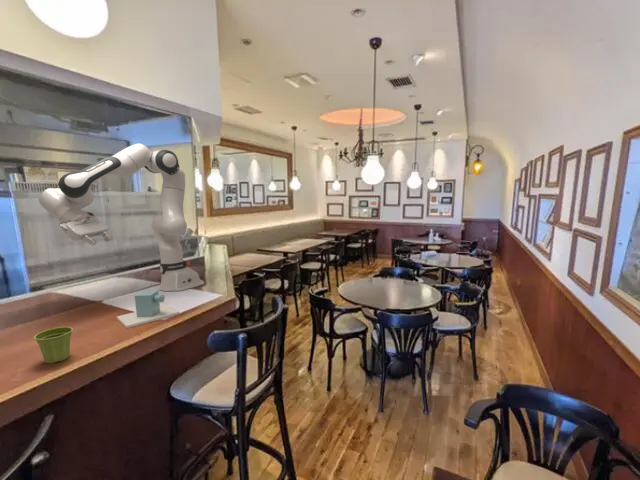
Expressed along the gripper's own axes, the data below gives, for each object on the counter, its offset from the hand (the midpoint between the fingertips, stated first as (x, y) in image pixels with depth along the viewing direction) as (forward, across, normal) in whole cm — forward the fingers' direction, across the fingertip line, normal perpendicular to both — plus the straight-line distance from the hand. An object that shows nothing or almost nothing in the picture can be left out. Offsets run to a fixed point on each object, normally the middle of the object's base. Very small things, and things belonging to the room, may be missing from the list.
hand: (102, 242), depth 142 cm
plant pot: (+28, -43, +14) cm, 54 cm away
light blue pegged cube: (+37, -9, +5) cm, 38 cm away
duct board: (+36, -9, +7) cm, 38 cm away
